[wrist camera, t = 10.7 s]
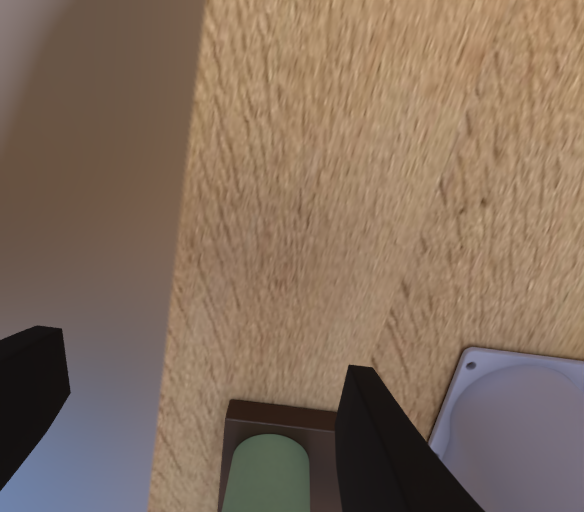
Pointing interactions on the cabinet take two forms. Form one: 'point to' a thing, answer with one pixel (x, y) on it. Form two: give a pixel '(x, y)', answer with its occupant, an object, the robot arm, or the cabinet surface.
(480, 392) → the robot arm
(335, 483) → the walnut board
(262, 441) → the sanitizer bottle
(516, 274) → the cabinet surface
